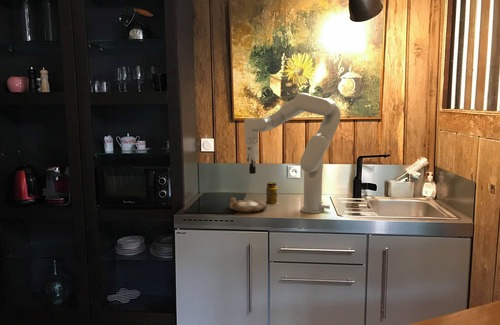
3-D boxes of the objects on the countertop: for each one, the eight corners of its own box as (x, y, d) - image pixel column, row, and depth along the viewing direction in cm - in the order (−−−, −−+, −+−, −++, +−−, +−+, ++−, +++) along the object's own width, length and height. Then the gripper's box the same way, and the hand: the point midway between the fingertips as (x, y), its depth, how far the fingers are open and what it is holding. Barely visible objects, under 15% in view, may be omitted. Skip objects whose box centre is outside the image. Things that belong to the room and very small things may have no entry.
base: (261, 207, 232) (261, 205, 232) (255, 213, 221) (255, 210, 220) (241, 206, 235) (241, 204, 235) (234, 211, 224) (234, 209, 224)
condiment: (279, 203, 241) (280, 183, 239) (268, 205, 236) (268, 184, 235) (272, 201, 247) (272, 181, 245) (260, 203, 242) (260, 182, 241)
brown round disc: (258, 201, 241) (257, 191, 240) (272, 209, 222) (272, 198, 221) (224, 204, 233) (224, 194, 233) (237, 213, 215) (236, 202, 214)
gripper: (254, 141, 224) (255, 175, 226) (261, 139, 238) (262, 171, 240) (241, 141, 226) (242, 175, 228) (248, 139, 240) (249, 171, 242)
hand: (252, 173), depth 234 cm, fingers closed
